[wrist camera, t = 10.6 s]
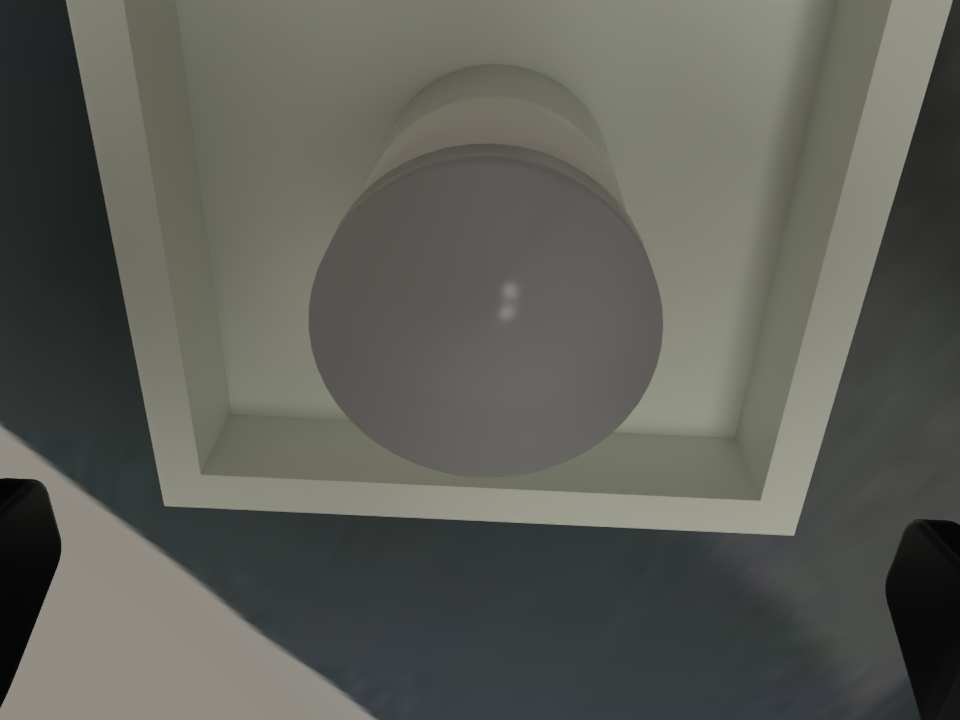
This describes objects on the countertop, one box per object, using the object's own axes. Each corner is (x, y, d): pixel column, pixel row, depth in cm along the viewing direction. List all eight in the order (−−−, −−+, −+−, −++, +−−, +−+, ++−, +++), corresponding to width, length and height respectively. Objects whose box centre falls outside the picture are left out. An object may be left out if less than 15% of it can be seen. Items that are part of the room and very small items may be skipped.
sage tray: (921, -213, 16) (1021, -233, 12) (756, 448, 23) (794, 536, 20) (108, -248, 16) (12, -276, 13) (209, 422, 23) (164, 505, 20)
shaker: (629, 65, 17) (691, 175, 11) (600, 296, 20) (637, 486, 14) (373, 52, 17) (295, 155, 11) (378, 284, 20) (318, 469, 14)
